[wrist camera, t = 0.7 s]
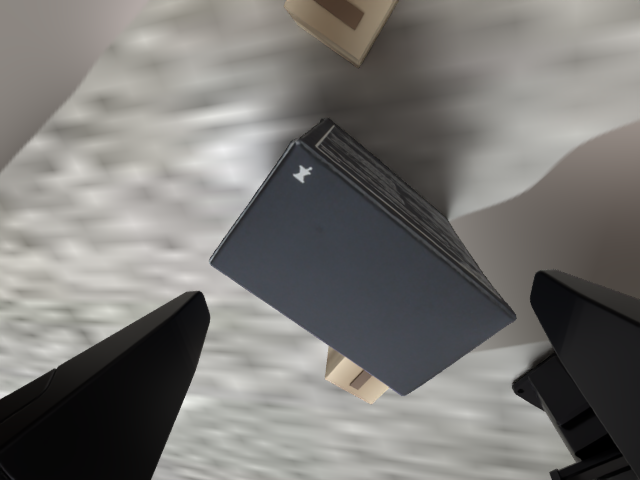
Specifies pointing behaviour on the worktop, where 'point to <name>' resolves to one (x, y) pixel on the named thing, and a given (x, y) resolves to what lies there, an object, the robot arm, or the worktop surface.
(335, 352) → the marked block 2
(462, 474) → the worktop surface
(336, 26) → the marked block 1
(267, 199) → the small box
